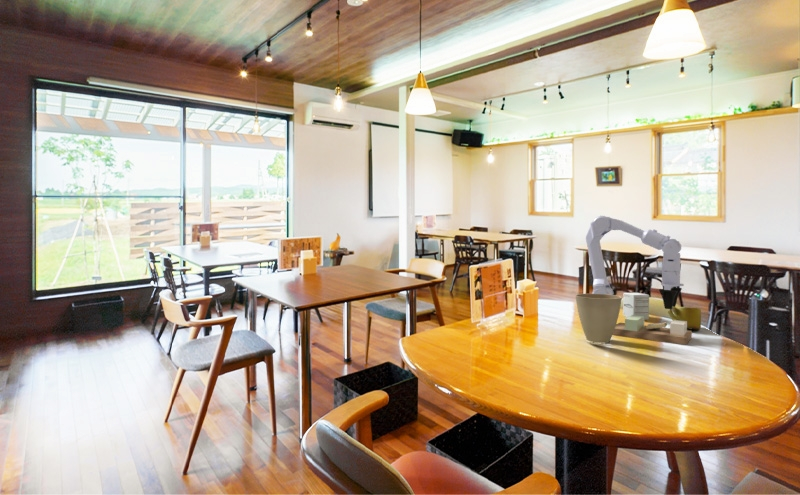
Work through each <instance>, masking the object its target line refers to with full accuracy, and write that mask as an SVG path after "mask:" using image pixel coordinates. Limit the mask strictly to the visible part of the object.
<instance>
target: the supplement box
mask: <svg viewBox="0 0 800 495" xmlns="http://www.w3.org/2000/svg"><path fill="white" fill-rule="evenodd" d="M622 296H623V297H622V298H623V299H622V304H623V305H622V316H623V317H624V318H628V317H630V316H631V315H640V316H644V321H646V320H649V319H650V295H649V294H646V293H641V292H623V294H622Z"/></svg>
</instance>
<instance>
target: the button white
mask: <svg viewBox="0 0 800 495" xmlns="http://www.w3.org/2000/svg"><path fill="white" fill-rule="evenodd" d="M669 328H670V335H678V336H684V335H685V334H686V333H687V331H688V329H687V321H679V320H672V321H671V322H670V324H669Z"/></svg>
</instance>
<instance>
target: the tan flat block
mask: <svg viewBox="0 0 800 495" xmlns="http://www.w3.org/2000/svg"><path fill="white" fill-rule="evenodd" d="M645 326H646V329H652V328H661V327H662V328H667V326H668V322H667V321H665V322H664V321H663V322H657V323H649V324H647V325H645Z"/></svg>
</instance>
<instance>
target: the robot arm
mask: <svg viewBox="0 0 800 495" xmlns="http://www.w3.org/2000/svg"><path fill="white" fill-rule="evenodd" d="M611 231H622V232H625V233H627V234H628V235H629V234H630V235H632V236H635V237H637V238H639V239H640V240H641V242H642V244H644V245H646V246H649V247H650V248H653V249H656V250H658V251H660V250H661V251H662V253H663V254H662V257H663V258H662V265H661V266H662V267H661V268H662V269H661V282H660V285H661V286H663V288H660V289H659V293H660V295H661V298H662V301H663V307H664V309H665V310H668V309H672V307H676V305H677V302H678V298H679V295H680V293H681V292H682V290H683V289H682V287H684V285H685V284H684V283H681V250H682V244H681V243H680V241H678V240H677V239H676V238H671V236H670V235H667V236H666V235H664V234H662V233H660V232H658V230H656V229H653V230H652V229H647V230H643V229H641V228H639V227H637V226H635V225H633V224H630V223H628V222H625V221H624V220H620V219H616V218H613V217H610V216H605V215H599V216H596V217H595V218H594V219H593V220H592V222H590V226H589V229H588V231H587V234H586V236H585V242H586V245H587V247H586V248H587V251H588V252H587V253H588V258H589V262H590V268H591V272H592V277H593V283H592V287H593V289H592V292H591V294H609V295H615V293H614V290H613V288H612V287H611V285H610V281H609V280H608V277H607V273H606V266H605V262H604V256H603V252H602V246H601V240H602V238H604V237H605V235H607V234H609V233H610V232H611Z"/></svg>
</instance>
